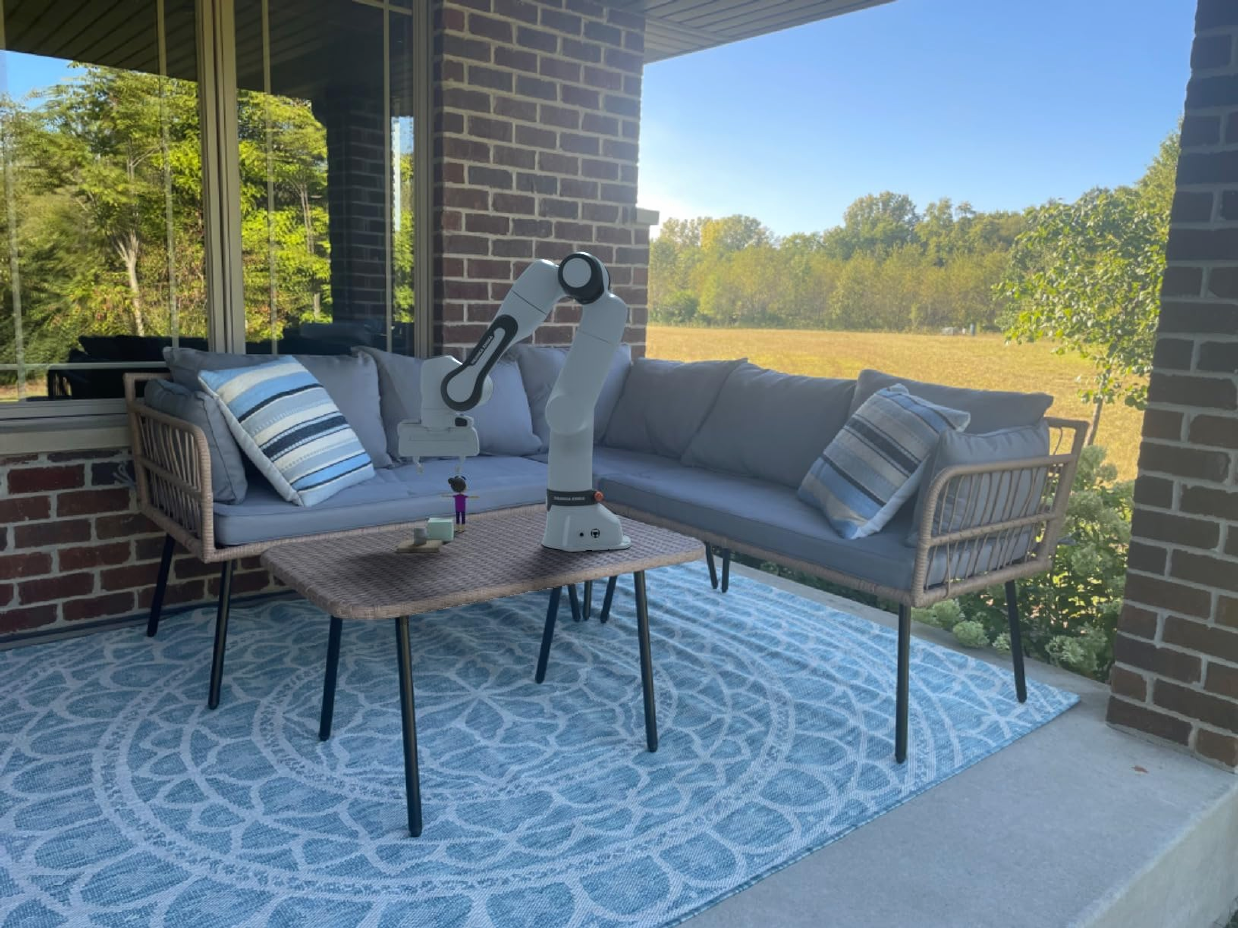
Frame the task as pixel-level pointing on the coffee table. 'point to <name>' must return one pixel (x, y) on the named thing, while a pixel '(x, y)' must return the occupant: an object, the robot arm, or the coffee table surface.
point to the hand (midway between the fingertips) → (439, 473)
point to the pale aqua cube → (441, 528)
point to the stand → (420, 543)
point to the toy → (459, 499)
